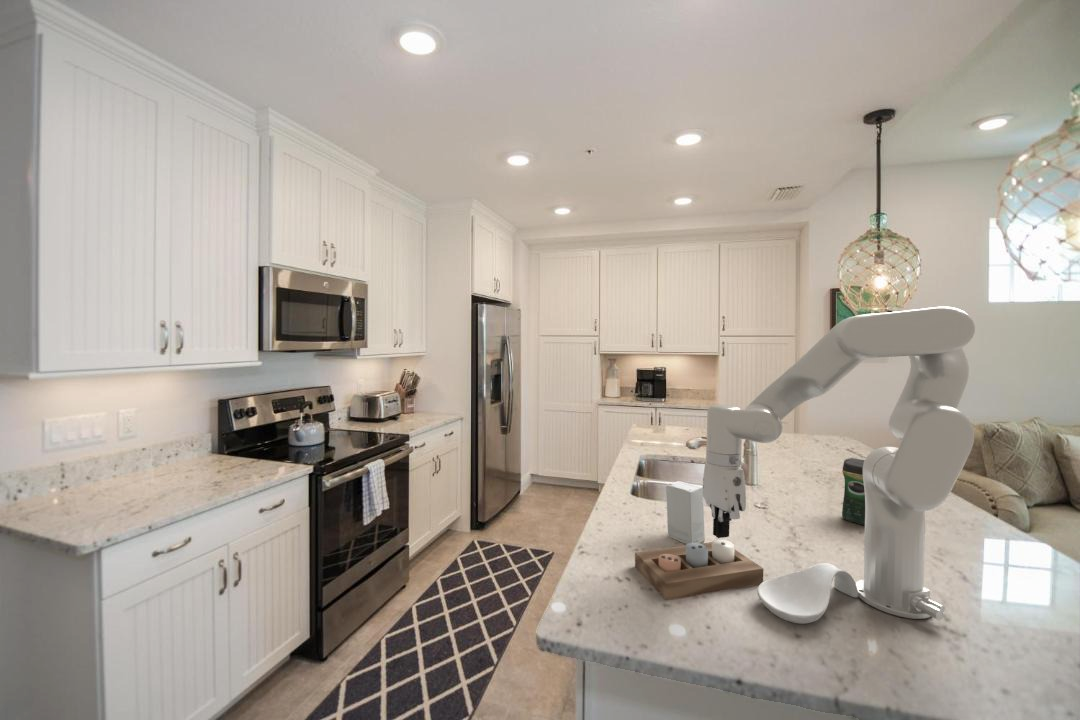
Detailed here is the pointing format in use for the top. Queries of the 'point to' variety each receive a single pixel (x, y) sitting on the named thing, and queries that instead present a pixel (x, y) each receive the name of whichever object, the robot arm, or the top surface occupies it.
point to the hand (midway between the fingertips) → (720, 535)
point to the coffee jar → (854, 491)
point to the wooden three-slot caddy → (697, 573)
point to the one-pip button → (722, 551)
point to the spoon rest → (805, 592)
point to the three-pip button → (669, 562)
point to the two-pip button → (696, 555)
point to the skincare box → (685, 512)
